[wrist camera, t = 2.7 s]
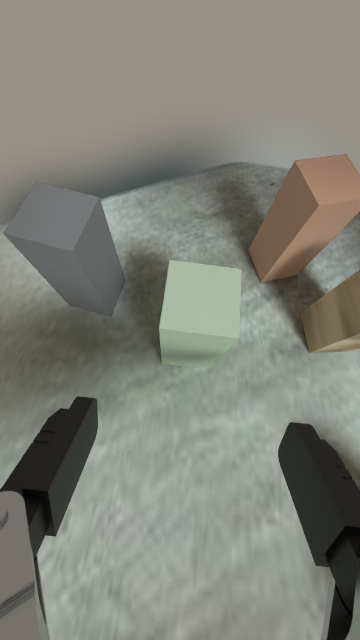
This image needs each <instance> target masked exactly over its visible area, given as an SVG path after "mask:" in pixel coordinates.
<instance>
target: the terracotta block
mask: <svg viewBox="0 0 360 640" xmlns="http://www.w3.org/2000/svg"><path fill="white" fill-rule="evenodd" d="M359 212H360V175H359V173H358V172H357V170H356V168H355V167H354V165H353V164H352V162H351V161H350V159H349V158H348V156H347V155H346V154H344V155H336V156H328V157H320V158H312V159H304V160H296V161H295V162H294V163H293V165H292V167H291V169H290V171H289V173H288V175H287V177H286V179H285V180H284V182H283V184H282V186H281V188H280V190H279V192H278V194H277V196H276V198H275V200H274V202H273V203H272V205H271V207H270V209H269V211H268V213H267V215H266V217H265V219H264V221H263V223H262V225H261V226H260V228H259V230H258V232H257V234H256V236H255V238H254V240H253V242H252V244H251V246H250V247H249V249H248V250H249V253H250V256H251V258H252V261H253V263H254V266H255V269H256V271H257V274H258V276H259V279H260V281H261V282H265V281H271V280H276V279H281V278H286V277H291V276H297V275H298V274H299V273H300V272H301V271H302V270H303V269H304V268H305V266H306V265H307V264H308V263H309V262H310V261H311V260H312V259H313V258H314V257H315V256H316V255H317V254H318V253H319V252H320V251H321V250H322V249H323V248H324V247H325V246H326V245H327V244H328V243H329V242H330V241H331V240H332V239H333V238H334V237H335V236H336V235H337V234H338V233H339V232H340V231H341V230H342V229H343V228H344V227H345V226H346V225H347V224H348V223H349V222H350V221H351V220H352V219H353V218H354V217H355V216H356V215H357V214H358V213H359Z"/></svg>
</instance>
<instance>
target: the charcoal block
mask: <svg viewBox="0 0 360 640" xmlns="http://www.w3.org/2000/svg"><path fill="white" fill-rule="evenodd" d="M3 234H4V235H5V236H6V237H7V238H8V239H9V240H10V241H11V242H12V243H13V244H14V246H15V247H16V248H17V249H18V250H19V251H20V252H21V253H22V254H23V255H24V256H25V257H26V259H27V260H28V261H29V262H30V263H31V264H32V265H33V266H34V267H35V268H36V269H37V270H38V272H39V273H40V274H41V275H42V276H43V277H44V278H45V279H46V280H47V281H48V282H49V283H50V285H51V286H52V287H53V288H54V289H55V290H56V291H57V292H58V293H59V294H60V295H61V296H62V297H63V299H64V300H65V301H66V302H67V303H68V304H69V305H70V306H74V307H77V308H81V309H85V310H89V311H92V312H96V313H100V314H103V315H107V316H111V315H112V312H113V310H114V307H115V305H116V302H117V299H118V297H119V294H120V292H121V289H122V287H123V284H124V281H125V278H124V275H123V272H122V268H121V265H120V262H119V259H118V256H117V252H116V249H115V246H114V243H113V240H112V236H111V233H110V230H109V227H108V224H107V220H106V217H105V214H104V211H103V208H102V204H101V201H100V198H99V197H96V196H91V195H87V194H83V193H80V192H75V191H72V190H67V189H64V188H60V187H56V186H51V185H47V184H44V183H39V182H36V183H35V185H34V186H33V188H32V189H31V191H30V192H29V194H28V195H27V197H26V199H25V200H24V202H23V203H22V205H21V206H20V208H19V210H18V211H17V213H16V214H15V216H14V217H13V219H12V220H11V222H10V223H9V225H8V227H7V228H6V230H5V231H4V233H3Z"/></svg>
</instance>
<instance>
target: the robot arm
mask: <svg viewBox="0 0 360 640" xmlns="http://www.w3.org/2000/svg"><path fill="white" fill-rule="evenodd" d="M97 428H98V413H97V399H96V398H88V397H79V396H78V397H76V398H75V400H74V401H73V403H72V405H71V406H70V408H69V409H62V408H61V409H59V410H58V411H57V412H55V413H54V414H53V415H52V416H50V417H49V418H48V420H47V421H46V423H45V424H44V426H43V427H42V429H41V430H40V433H38V435H37V436H36V438H35V439H34V441H33V443H32V444H31V445H30V446H29V448H28V449H27V451H26V452H25V454H24V455H23V457H22V458H21V460H20V461H19V463H18V464H17V466H16V467H15V469H14V470H13V472H12V473H11V475H10V476H9V478H8V479H7V481H6V482H5V484H4V485H3V487H2V488H1V489H0V640H50V637H49V631H48V625H47V618H46V611H45V604H44V597H43V590H42V583H41V576H40V570H39V563H38V556H37V553H38V550H39V548H40V546H41V544H42V541H43V539H44V537H45V535H47V536H56V534H57V532H58V529H59V527H60V524H61V522H62V520H63V517H64V515H65V512H66V510H67V507H68V505H69V502H70V500H71V497H72V495H73V493H74V490H75V488H76V485H77V483H78V480H79V478H80V475H81V473H82V470H83V468H84V465H85V463H86V461H87V458H88V456H89V453H90V451H91V448H92V446H93V443H94V441H95V438H96V434H97ZM278 458H279V463H280V466H281V469H282V471H283V474H284V477H285V480H286V483H287V486H288V488H289V491H290V494H291V497H292V500H293V502H294V505H295V508H296V511H297V514H298V517H299V519H300V522H301V525H302V528H303V531H304V534H305V536H306V539H307V542H308V545H309V548H310V550H311V553H312V556H313V559H314V562H315V565H316V566H324V567H330V570H331V572H332V575H333V578H332V580H331V583H330V589H329V595H328V601H327V607H326V613H325V619H324V625H323V631H322V637H321V640H360V490H359V488H358V487H357V485H356V484H355V482H354V481H353V480H352V477H351V475H350V474H349V472H348V470H347V469H345V465H344V464H343V462H342V460H341V459H340V457H339V455H338V454H337V452H336V451H335V450H334V449H333V448H332V447H331V446H330V445H329V444H328V443H327V442H326V441H325V440H321V439H320V438H319V436H318V435H317V433H316V431H315V429H314V428H313V427H312V426H311V425H310V424H302V423H294V422H291V423H289V425H288V427H287V429H286V432H285V434H284V436H283V439H282V441H281V443H280V446H279V450H278Z"/></svg>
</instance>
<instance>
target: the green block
mask: <svg viewBox="0 0 360 640" xmlns="http://www.w3.org/2000/svg"><path fill="white" fill-rule="evenodd" d="M240 299H241V269H235V268H228V267H220V266H213V265H205V264H198V263H190V262H182V261H175V260H170V261H169V267H168V274H167V280H166V287H165V293H164V300H163V306H162V313H161V319H160V326H159V333H160V346H161V359H162V364H169V365H177V366H184V367H192V368H200V369H208V368H209V367H210V366H211V365H212V364H213V363H214V362H215V361H216V360H217V359H218V358H219V357H220V356H221V355H223V354H224V353H225V352H226V351H227V350H228V349H229V348H230V347H231V346H232V345H233V344H234V343H235V342H236V341H237V340H238V339H239V330H240Z"/></svg>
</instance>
